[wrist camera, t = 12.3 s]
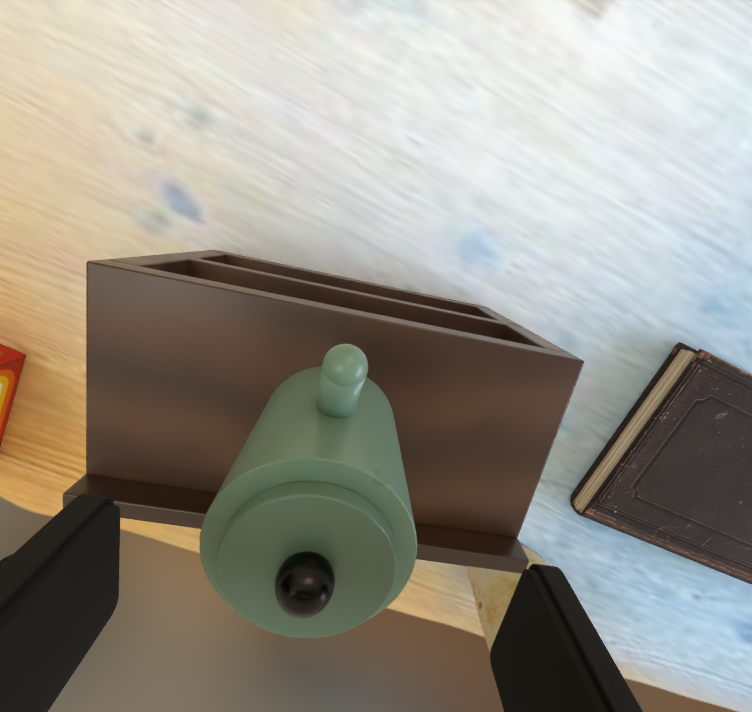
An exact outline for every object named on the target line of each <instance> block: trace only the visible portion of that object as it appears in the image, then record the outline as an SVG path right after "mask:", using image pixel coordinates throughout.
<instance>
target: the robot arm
mask: <svg viewBox="0 0 752 712" xmlns="http://www.w3.org/2000/svg"><path fill="white" fill-rule="evenodd" d="M119 540H120V507H119V506H116V505H114V500H113V499H112V498H111V497H106V496H99V495H93V494H86V493H83V494H80V495H78V496H77V497H76V498H75V499H73V500H72V501H71V502H70V503H69V504H68V505H67V506H66V507H65V508H64V509H62V510H61V511H60V512H59V513H58V514H57V515H56V516H55V517H54V518H53V519H52V520H50V521H49V522H48V523H47V524H46V525H45V526H44V527H43V528H42V529H40V530H39V531H38V532H37V533H36V534H35V535H34V536H33V537H32V538H31V539H29V540H28V541H27V542H26V543H25V544H24V545H23V546H22V547H21V548H20V549H19V550H17V551H16V552H15V553H14V554H12V555H10V556H8V557H6V558H4V559H3V560H1V561H0V712H48V710H49V709H50V707H51V706H52V704H53V703H54V701H55V700H56V698H57V697H58V695H59V694H60V692H61V691H62V689H63V688H64V686H65V685H66V683H67V682H68V680H69V679H70V677H71V676H72V674H73V673H74V671H75V670H76V668H77V666H78V665H79V664H80V662H81V661H82V659H83V658H84V656H85V655H86V653H87V652H88V650H89V649H90V647H91V646H92V644H93V643H94V641H95V640H96V638H97V637H98V635H99V634H100V632H101V631H102V629H103V628H104V626H105V625H106V623H107V622H108V620H109V619H110V617H111V616H112V614H113V612H114V610H115V607H116V605H117V601H118V596H119V546H120V544H119V543H120V541H119ZM490 660H491V666H492V670H493V674H494V677H495V681H496V684H497V687H498V691H499V695H500V698H501V702H502V705H503V709H504V712H643V711H642V709H641V708H640V706H639V704H638V703H637V701H636V699H635V697H634V696H633V694H632V692H631V690H630V689H629V687H628V685H627V683H626V682H625V680H624V678H623V676H622V675H621V673H620V671H619V669H618V668H617V666H616V664H615V662H614V661H613V659H612V657H611V656H610V654H609V652H608V650H607V649H606V647H605V645H604V643H603V642H602V640H601V638H600V636H599V635H598V633H597V631H596V629H595V628H594V626H593V624H592V623H591V621H590V619H589V617H588V616H587V614H586V612H585V610H584V609H583V607H582V605H581V603H580V602H579V600H578V598H577V596H576V595H575V593H574V591H573V589H572V588H571V586H570V584H569V583H568V581H567V579H566V577H565V576H564V574H563V572H562V571H561V570H560V569H559V568H558V567H554V566H547V565H541V564H532V565H531V566H530V567H529V569H525V570H523V572H522V574H521V577H520V579H519V582H518V584H517V586H516V589H515V591H514V594H513V596H512V598H511V601H510V603H509V606H508V608H507V611H506V613H505V615H504V618H503V620H502V623H501V625H500V628H499V630H498V632H497V635H496V637H495V640H494V642H493V645H492V647H491V652H490Z"/></svg>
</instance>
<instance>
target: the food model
mask: <svg viewBox="0 0 752 712" xmlns="http://www.w3.org/2000/svg"><path fill="white" fill-rule="evenodd" d="M521 546H522V548H523V550H524V552H525V554H526V556H527V557H528V559H529V563H528V566H527V568H526V569H529V567H530V566H531V565H532V564H541V565H547V566H548V564H547V563H546V562H545V561H544V560H543V559H542V558H541V557H540V556H539V555H538V554H536V553H535V552H534V551H533V550H531V549H529V548H527V547H525V546H523V545H521ZM467 568H468V575H469V578H470V582H471V585H472V589H473V593H474V597H475V601H476V606H477V610H478V614H479V618H480V622H481V625H482V629H483V632H484V636H485V639H486V642H487V645H488V649H489V652H491V647H492V645H493V642H494V640H495V637H496V635H497V632H498V630H499V628H500V625H501V623H502V620H503V618H504V615H505V613H506V611H507V608H508V606H509V603H510V601H511V598H512V596H513V594H514V591H515V589H516V586H517V584H518V582H519V579H520V577H521V574H520V573H513V572H506V571H499V570H492V569H485V568H477V567H470V566H467Z"/></svg>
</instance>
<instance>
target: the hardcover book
mask: <svg viewBox="0 0 752 712" xmlns="http://www.w3.org/2000/svg"><path fill="white" fill-rule="evenodd" d="M571 506H572V507H573V509H574V511H575V512H576V513H577V514H578V515H581V516H583V517H586V518H588V519H591V520H593V521H596V522H598V523H601V524H603V525H605V526H608V527H610V528H613V529H615V530H618V531H620V532H623V533H625V534H628V535H630V536H633V537H635V538H638V539H640V540H643V541H645V542H648V543H650V544H653V545H655V546H658V547H660V548H663V549H665V550H667V551H670V552H672V553H675V554H677V555H680V556H682V557H685V558H687V559H690V560H692V561H695V562H697V563H700V564H702V565H705V566H707V567H710V568H712V569H715V570H717V571H720V572H722V573H725V574H727V575H730V576H732V577H734V578H737V579H739V580H742V581H744V582H747V583H749V584H752V375H750V374H748V373H746V372H744V371H742V370H740V369H739V368H737V367H735V366H733V365H731V364H729V363H727V362H725V361H723V360H721V359H719V358H717V357H715V356H713V355H712V354H710V353H708V352H706V351H704V350H701V349H699V350H698V351H696V350H694V349H692V348H690V347H688V346H686V345H685V344H683V343H680V342H679V343H678V345H677V346H676V348H675V349H674V350H673V352H672V353H671V355H670V356H669V358H668V359H667V360H666V362H665V363H664V365H663V366H662V367H661V369H660V370H659V372H658V373H657V375H656V376H655V377H654V379H653V380H652V382H651V383H650V385H649V386H648V387H647V389H646V390H645V392H644V393H643V395H642V396H641V397H640V399H639V400H638V402H637V403H636V405H635V406H634V407H633V409H632V410H631V412H630V413H629V414H628V416H627V417H626V419H625V420H624V422H623V423H622V424H621V426H620V427H619V429H618V430H617V432H616V433H615V434H614V436H613V437H612V439H611V440H610V442H609V443H608V444H607V446H606V447H605V449H604V450H603V451H602V453H601V454H600V456H599V457H598V459H597V460H596V461H595V463H594V464H593V466H592V467H591V469H590V470H589V471H588V473H587V474H586V476H585V477H584V479H583V480H582V481H581V483H580V484H579V486H578V487H577V489H576V490H575V491H574V493H573V494H572V496H571Z"/></svg>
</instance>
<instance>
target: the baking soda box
mask: <svg viewBox="0 0 752 712" xmlns="http://www.w3.org/2000/svg"><path fill="white" fill-rule="evenodd" d="M25 357H26V355H25V354H22V353H20V352H17V351H15V350H13V349H10V348H8V347H5V346H3V345H1V344H0V445H1V442H2V438H3V435H4V431H5V427H6V424H7V420H8V417H9V413H10V410H11V406H12V403H13V399H14V396H15V392H16V389H17V385H18V381H19V378H20V374H21V371H22V367H23V364H24V360H25Z"/></svg>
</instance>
